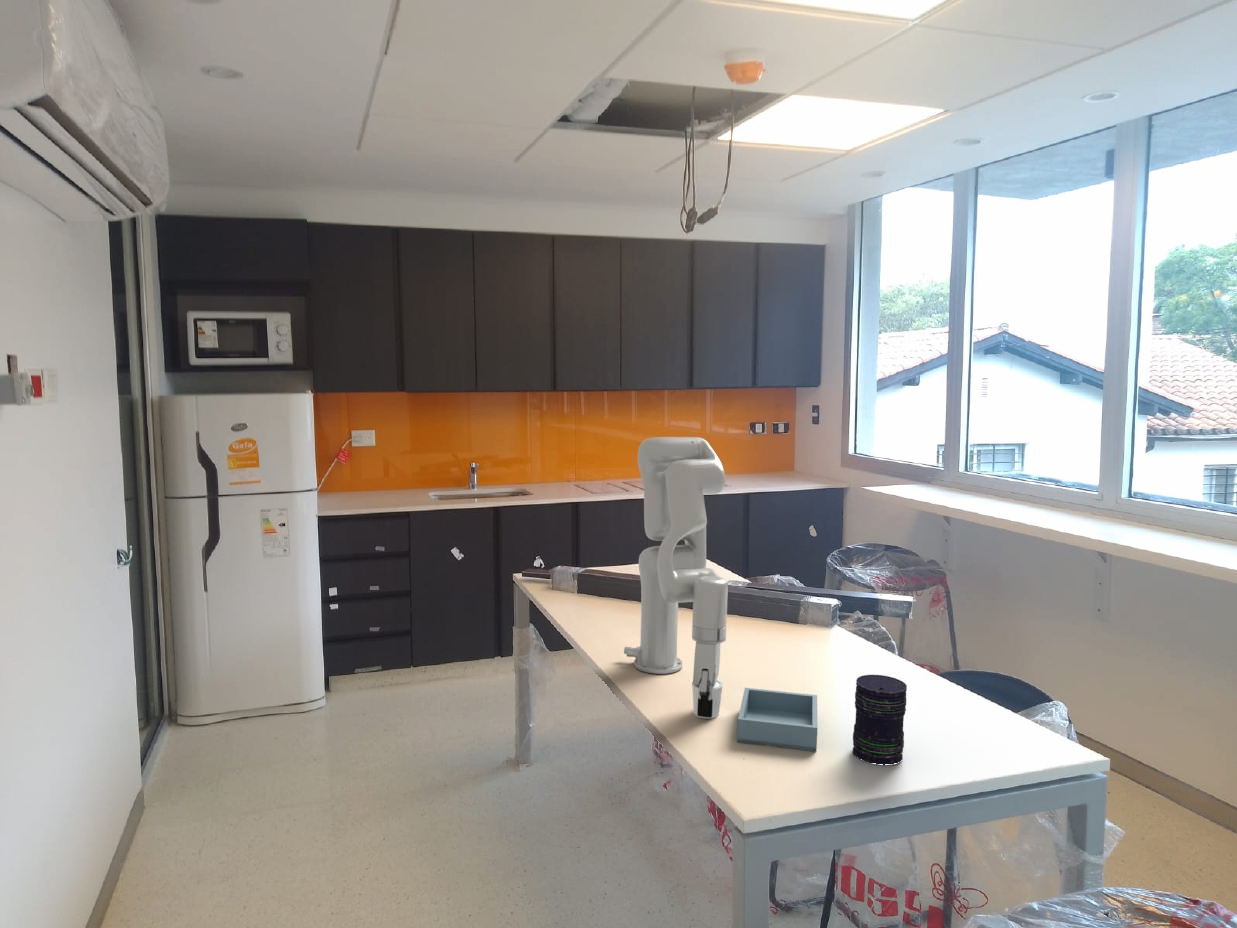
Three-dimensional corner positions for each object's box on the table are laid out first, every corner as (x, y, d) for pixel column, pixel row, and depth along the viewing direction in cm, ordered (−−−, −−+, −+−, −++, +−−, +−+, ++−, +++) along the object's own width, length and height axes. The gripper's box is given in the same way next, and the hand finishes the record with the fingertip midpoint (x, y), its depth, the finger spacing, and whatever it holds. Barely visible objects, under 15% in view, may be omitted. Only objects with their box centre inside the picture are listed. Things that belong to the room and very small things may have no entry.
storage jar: (852, 740, 174) (856, 671, 172) (902, 747, 171) (906, 677, 169) (851, 761, 164) (855, 688, 163) (904, 769, 161) (908, 695, 160)
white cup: (724, 709, 188) (725, 680, 188) (718, 721, 182) (719, 690, 181) (695, 705, 191) (696, 675, 190) (687, 716, 184) (688, 686, 183)
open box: (737, 742, 172) (737, 718, 171) (744, 708, 189) (744, 687, 189) (816, 751, 168) (817, 727, 168) (816, 716, 186) (817, 695, 185)
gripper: (697, 619, 193) (695, 694, 195) (686, 642, 177) (684, 724, 179) (729, 622, 192) (727, 698, 194) (721, 645, 175) (719, 728, 177)
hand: (706, 709), depth 186 cm, fingers closed on white cup, 5 cm apart
